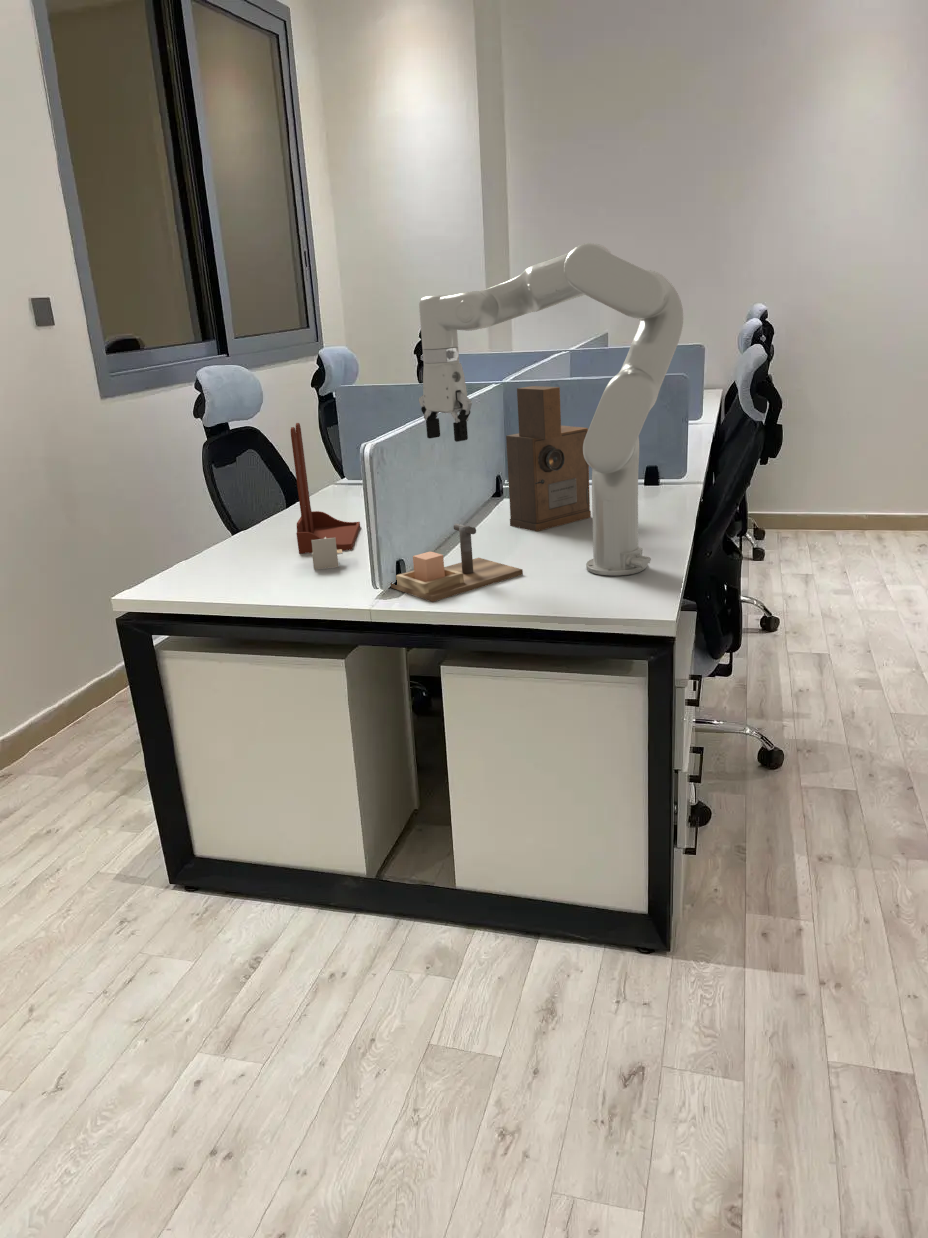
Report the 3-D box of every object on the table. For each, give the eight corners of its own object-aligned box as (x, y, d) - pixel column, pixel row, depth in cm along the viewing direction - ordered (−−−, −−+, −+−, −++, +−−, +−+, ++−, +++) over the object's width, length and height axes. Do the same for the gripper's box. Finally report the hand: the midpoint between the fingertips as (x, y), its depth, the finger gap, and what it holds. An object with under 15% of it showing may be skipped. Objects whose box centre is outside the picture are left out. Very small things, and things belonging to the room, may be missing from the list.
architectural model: (313, 567, 218) (310, 537, 216) (343, 564, 219) (340, 533, 217) (314, 571, 215) (310, 540, 212) (344, 568, 216) (340, 537, 213)
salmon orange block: (445, 582, 193) (443, 554, 191) (427, 587, 191) (425, 559, 189) (432, 578, 197) (430, 551, 195) (415, 583, 194) (412, 556, 192)
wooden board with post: (522, 574, 199) (520, 522, 195) (432, 602, 186) (427, 546, 182) (479, 562, 211) (475, 512, 207) (390, 587, 197) (385, 534, 193)
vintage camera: (546, 534, 231) (540, 389, 220) (510, 525, 242) (502, 387, 230) (601, 519, 242) (598, 381, 230) (564, 512, 252) (559, 379, 241)
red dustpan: (352, 550, 230) (338, 427, 220) (299, 554, 230) (283, 431, 220) (360, 527, 253) (348, 415, 243) (312, 531, 253) (298, 419, 243)
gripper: (480, 355, 191) (486, 439, 197) (431, 355, 204) (437, 434, 210) (452, 359, 187) (458, 444, 192) (403, 358, 200) (410, 438, 205)
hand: (447, 439), depth 201 cm, fingers open, 9 cm apart
